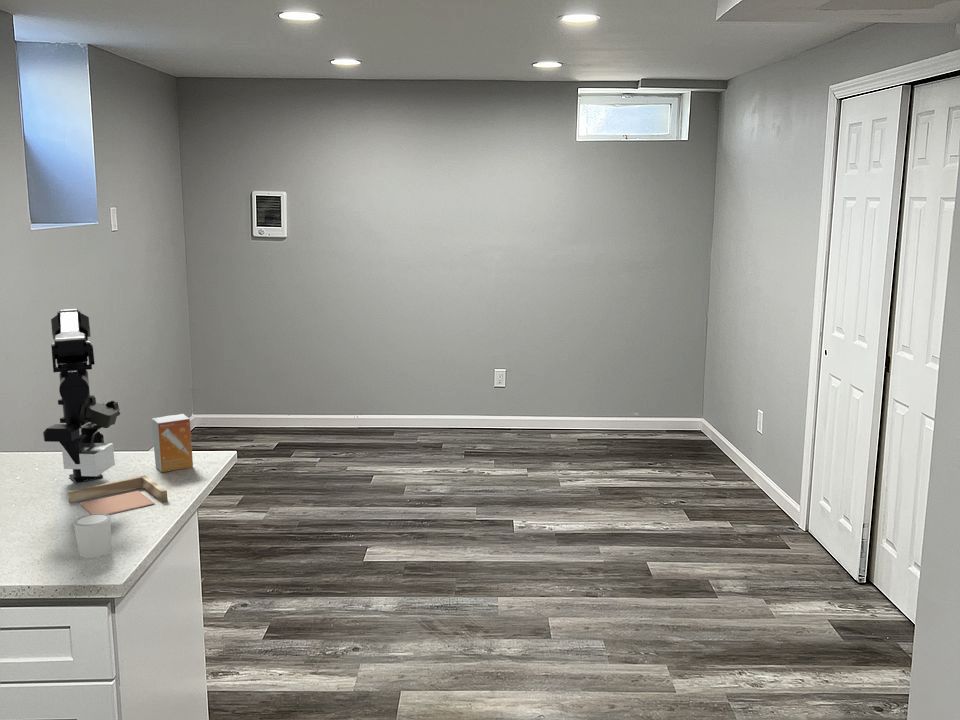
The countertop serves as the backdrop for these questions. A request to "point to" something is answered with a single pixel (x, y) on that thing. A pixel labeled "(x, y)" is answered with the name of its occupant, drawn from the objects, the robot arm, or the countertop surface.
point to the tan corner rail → (119, 489)
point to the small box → (172, 442)
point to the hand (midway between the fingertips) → (82, 461)
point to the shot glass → (93, 535)
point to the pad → (117, 503)
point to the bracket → (91, 458)
